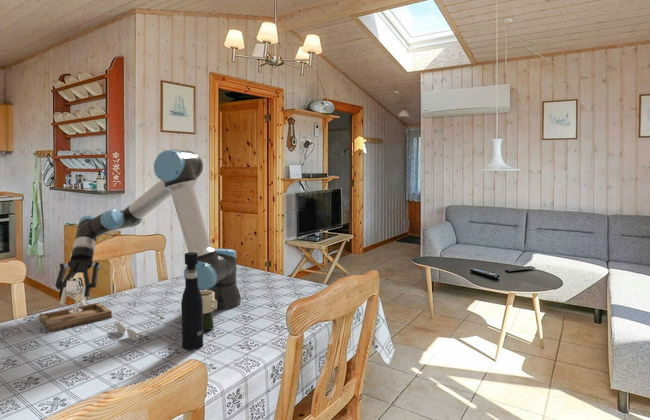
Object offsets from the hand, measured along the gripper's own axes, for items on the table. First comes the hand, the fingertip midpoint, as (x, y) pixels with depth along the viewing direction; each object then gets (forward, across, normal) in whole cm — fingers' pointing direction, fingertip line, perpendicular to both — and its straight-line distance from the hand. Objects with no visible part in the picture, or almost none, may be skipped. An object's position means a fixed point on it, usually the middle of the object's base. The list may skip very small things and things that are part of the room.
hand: (72, 304), depth 152 cm
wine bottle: (+26, -43, +17) cm, 53 cm away
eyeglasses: (+14, -28, +4) cm, 32 cm away
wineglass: (0, 0, -5) cm, 5 cm away
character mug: (+17, -46, +7) cm, 50 cm away
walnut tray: (+2, 0, -7) cm, 8 cm away
